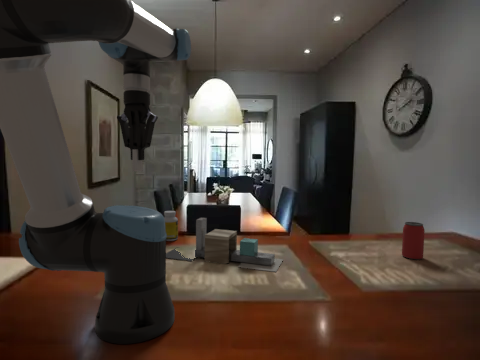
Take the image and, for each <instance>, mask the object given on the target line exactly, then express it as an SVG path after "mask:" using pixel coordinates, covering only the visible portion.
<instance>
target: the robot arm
mask: <svg viewBox="0 0 480 360" xmlns="http://www.w3.org/2000/svg"><path fill="white" fill-rule="evenodd" d="M90 41H91V42H92V41H93V42H98V44H99V47H100V49H101V50H102V52H104V53H105V54H106V55H108V57H109V58H111V59H114V60H115V61H117V62H119V64H122V71H123V75H122V76H123V78H122V82H123V83H122V84H123V85H122V86H123V88H122V89H123V90H124V92H123V105H124V110H123V113H122V114H121V115H117V116H116V119H117V121H118V123H119V126H120V131H121V135H122V139H123V145H124V147H125V148H128V149H129V150H130V160H131V161H132V172H143V161H144V160H145V149H147V148H150V147H151V144H152V140H153V135H154V129H155V124H156V122H157V120H158V118H159V116H158V115H157V114H154V113H152V110H151V108H150V105H151V94H150V91H151V75H150V74H151V62H152V61H158V62H159V61H160V62H161V61H167V62H169V61H171V62H172V61H174V62H175V61H176V62H180V61H187V60H188V59H190V57H191V55H192V54H191V53H192V42H191V36H190V33H189V31H188V30H187V29H185V28H177V27H175V28H170V27H168V26H167V25H166V24H164V23H163V22H162V21H160V20H159V19H157V18H156V17H155V16H154V15H152V14H151V13H149V12H148V11H147V10H145V9H144V8H143V7H141V6H140V5H138V4H137V3H135V2H134V1H133V0H0V132H1V134H2V136H3V139H4V142H5V144H6V147H7V149H8V152H9V154H10V157H11V160H12V162H13V165H14V167H15V170H16V172H17V175H18V178H19V180H20V183H21V185H22V187H23V191H24V193H25V196H26V198H27V201H28V204H29V206H30V208H29V209H28V211H27V212H26V213H25V216H24V221H23V223H22V225H21V227H20V230H19V234H20V235H21V237H19V238H18V245H19V250H20V252H21V255H22V256H23V258H24V259H25V260H26V262H27V263H29V264H30V265H32V266H33V267H35V268H37V269H43V270H49V271H54V272H55V271H57V272H58V271H59V272H60V271H70V272H71V271H72V272H74V271H75V272H94V273H103V274H104V289H103V294H102V297H101V300H100V302H99V305H98V309H97V312H96V315H95V321H94V323H95V325H94V326H95V328H94V329H95V334H96V336H97V337H98V338H99V339H101V340H102V341H105V342H107V343H110V344H117V345H118V344H119V345H123V344H124V345H128V344H137V343H143V342H147V341H149V340H152V339H155V338H157V337H159V336H161V335H163V334H164V333H166V332H167V331H168V330H169V329H170V328H171V327H172V326H173V324H174V322H175V313H176V312H175V306H174V303H173V301H172V297H171V294H170V292H169V289H168V286H167V285H168V284H167V282H166V281H167V278H166V275H167V272H166V271H167V269H166V267H167V260H166V259H167V258H166V253H167V241H166V237H167V234H166V230H165V219H164V217H165V215H164V214H163V213H161V212H159V211H158V210H156V209H153V208H149V207H145V206H138V205H123V204H122V205H121V204H119V205H112V206H108V207H106V208H104V210H103V212H96V210H95V206H94V204H93V200H92V198H91V196H89V195H86V194H84V193H82V191H81V188H80V184H79V182H78V177H77V175H76V172H75V171H76V170H75V168H74V165H73V162H72V158H71V155H70V151H69V147H68V144H67V141H66V137H65V134H64V130H63V126H62V124H61V120H60V117H59V113H58V110H57V106H56V103H55V99H54V97H53V96H54V95H53V92H52V90H51V86H50V82H49V79H48V76H47V73H46V70H45V65H46V64H47V62H48V61H49V59H50V58H51V56H52V51H51V49H50V44H57V43H59V44H60V43H61V44H62V43H72V42H74V43H75V42H90Z"/></svg>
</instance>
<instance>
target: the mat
mask: <svg viewBox="0 0 480 360" xmlns="http://www.w3.org/2000/svg"><path fill="white" fill-rule="evenodd" d="M282 261H283V262H284V259H282V258H276V257H275V261H274V262H273V264H272V265H271V266H270V265H262V264H254V263H245V262H240V264H239V265H238V266H237V268H239V267H241V269H247V268H248V270H254V269H255V270H257V271H262V272H263V271H264V272H271V273H277V272H278V270H279V268H280V267H281V265H282V263H283V262H282ZM279 266H280V267H279Z"/></svg>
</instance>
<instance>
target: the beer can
mask: <svg viewBox="0 0 480 360" xmlns="http://www.w3.org/2000/svg"><path fill="white" fill-rule="evenodd" d="M425 231H426V230H425V228H424V224H423V223H421V222H417V221H415V222H414V221H406V222H405V223H404V225H403V227H402V243H401V245H402V247H401V255H402V256H403V257H404V258H405V257H406V259H408V258H409V260H413V261H415V260H416V261H417V260H422V259H423V258H424V250H425V249H424V248H425V246H424V245H425V233H426V232H425Z"/></svg>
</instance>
